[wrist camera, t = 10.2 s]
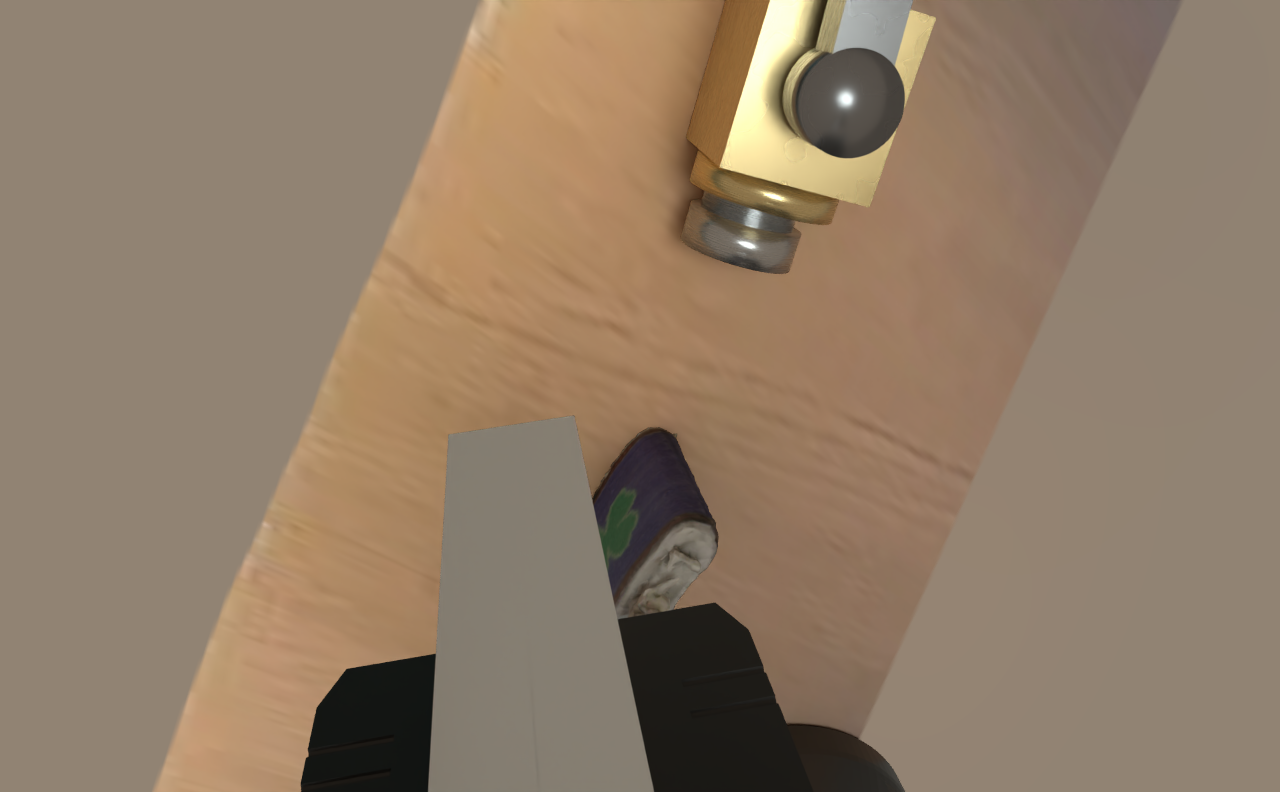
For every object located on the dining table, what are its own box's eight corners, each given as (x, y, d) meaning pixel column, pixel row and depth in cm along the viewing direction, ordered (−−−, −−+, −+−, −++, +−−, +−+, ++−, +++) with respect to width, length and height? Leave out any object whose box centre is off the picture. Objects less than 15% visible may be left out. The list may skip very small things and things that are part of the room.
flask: (604, 594, 54) (632, 736, 44) (550, 574, 53) (566, 714, 43) (691, 437, 52) (742, 551, 42) (636, 414, 51) (675, 524, 41)
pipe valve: (785, 256, 49) (838, 307, 42) (658, 223, 48) (690, 271, 41) (900, -91, 44) (981, -99, 37) (763, -137, 43) (820, -155, 36)
